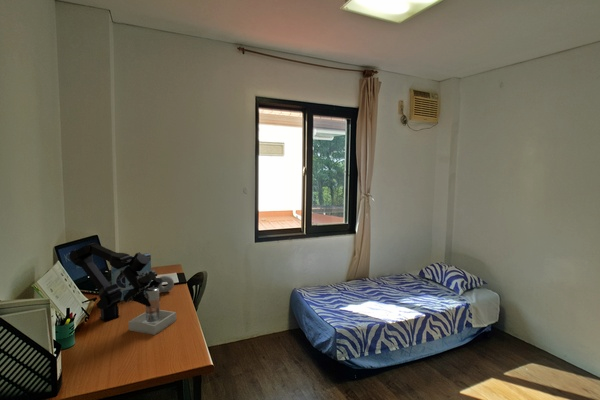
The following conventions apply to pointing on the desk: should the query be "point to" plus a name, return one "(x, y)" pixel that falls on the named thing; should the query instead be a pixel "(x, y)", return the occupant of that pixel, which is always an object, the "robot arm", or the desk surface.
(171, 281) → the donut
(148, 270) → the gum box
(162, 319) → the tray
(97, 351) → the desk surface
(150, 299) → the tin
